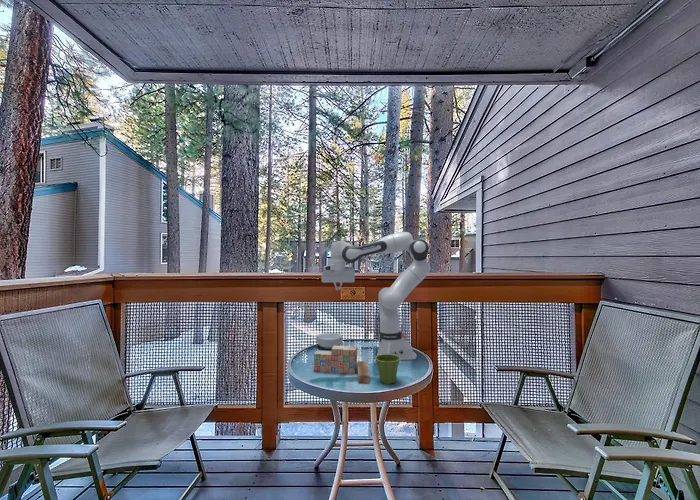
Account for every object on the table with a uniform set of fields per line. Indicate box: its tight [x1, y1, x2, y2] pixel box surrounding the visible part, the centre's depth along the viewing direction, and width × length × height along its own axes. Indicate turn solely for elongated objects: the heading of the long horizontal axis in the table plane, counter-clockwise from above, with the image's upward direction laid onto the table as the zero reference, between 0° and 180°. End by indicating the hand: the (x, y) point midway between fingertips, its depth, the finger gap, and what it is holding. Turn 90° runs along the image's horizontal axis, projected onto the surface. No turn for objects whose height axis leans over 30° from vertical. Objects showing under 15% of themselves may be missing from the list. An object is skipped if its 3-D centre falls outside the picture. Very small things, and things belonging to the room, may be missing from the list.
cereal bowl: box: [315, 332, 343, 350], centre depth 224 cm, size 17×17×7 cm
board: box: [356, 360, 370, 384], centre depth 176 cm, size 5×20×4 cm, turn 0°
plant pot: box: [374, 354, 401, 385], centre depth 168 cm, size 12×12×11 cm
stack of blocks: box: [313, 345, 358, 375], centre depth 182 cm, size 21×6×12 cm, turn 81°
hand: (338, 289), depth 215 cm, fingers closed
